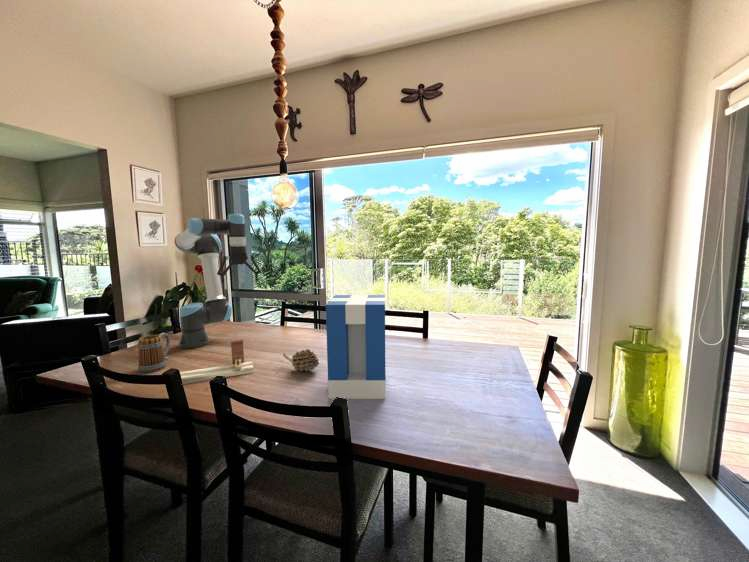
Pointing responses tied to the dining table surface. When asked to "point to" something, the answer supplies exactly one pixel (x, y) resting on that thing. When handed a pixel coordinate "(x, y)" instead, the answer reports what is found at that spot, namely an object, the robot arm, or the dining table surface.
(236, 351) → the block
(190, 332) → the robot arm
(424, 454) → the dining table surface
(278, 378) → the dining table surface
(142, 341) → the mug
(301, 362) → the pine cone
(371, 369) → the toy block
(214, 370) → the board
